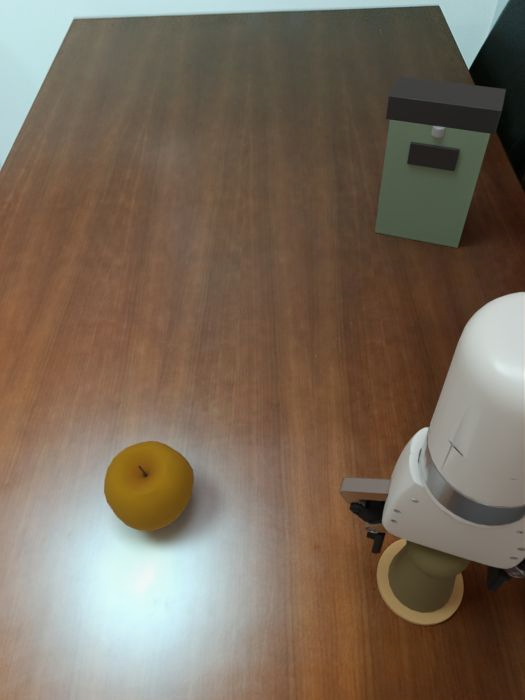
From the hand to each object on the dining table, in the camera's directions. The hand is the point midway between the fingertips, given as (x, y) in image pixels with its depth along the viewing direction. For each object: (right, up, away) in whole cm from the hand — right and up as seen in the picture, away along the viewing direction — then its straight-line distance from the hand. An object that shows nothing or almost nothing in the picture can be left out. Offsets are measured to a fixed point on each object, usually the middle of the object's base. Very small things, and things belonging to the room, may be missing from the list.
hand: (434, 554), depth 50 cm
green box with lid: (+8, +35, +36) cm, 51 cm away
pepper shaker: (0, -4, +5) cm, 7 cm away
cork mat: (0, -4, +6) cm, 7 cm away
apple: (-25, +1, +12) cm, 28 cm away
